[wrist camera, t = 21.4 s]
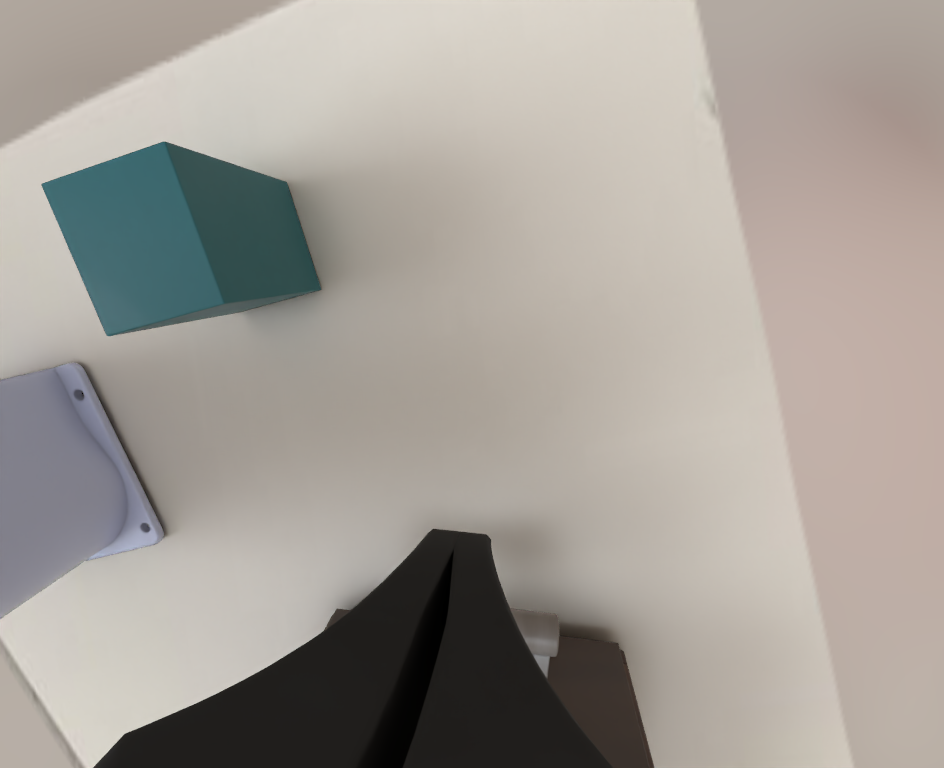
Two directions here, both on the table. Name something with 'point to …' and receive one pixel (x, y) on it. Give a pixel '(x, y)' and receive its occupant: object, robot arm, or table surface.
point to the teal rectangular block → (180, 238)
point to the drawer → (584, 685)
